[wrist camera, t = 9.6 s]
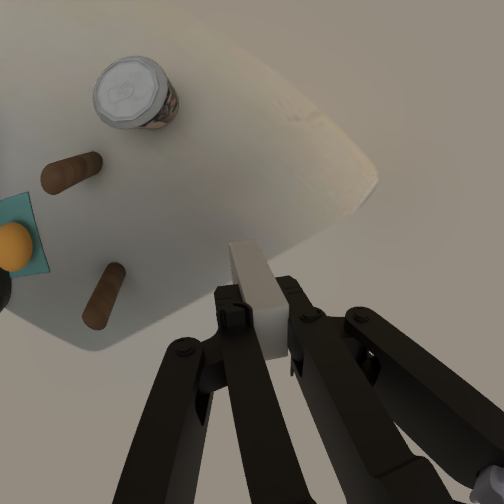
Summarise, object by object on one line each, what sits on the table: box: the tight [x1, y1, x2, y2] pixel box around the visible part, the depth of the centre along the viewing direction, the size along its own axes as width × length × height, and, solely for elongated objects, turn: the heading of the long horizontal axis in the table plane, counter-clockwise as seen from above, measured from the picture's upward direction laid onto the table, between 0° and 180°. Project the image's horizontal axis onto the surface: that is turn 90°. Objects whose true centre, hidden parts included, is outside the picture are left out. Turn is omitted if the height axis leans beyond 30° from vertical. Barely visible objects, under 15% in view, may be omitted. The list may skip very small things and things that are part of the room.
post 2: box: [82, 262, 126, 330], centre depth 26 cm, size 2×2×9 cm
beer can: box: [93, 56, 179, 129], centre depth 18 cm, size 5×5×12 cm
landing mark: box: [0, 192, 50, 278], centre depth 25 cm, size 10×10×1 cm
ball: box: [0, 222, 33, 272], centre depth 23 cm, size 6×6×6 cm
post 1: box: [41, 152, 103, 195], centre depth 21 cm, size 2×2×9 cm
